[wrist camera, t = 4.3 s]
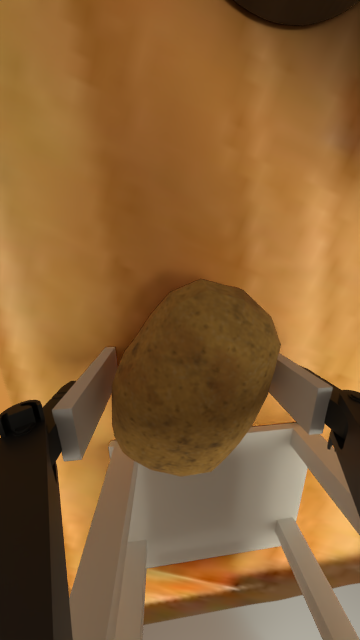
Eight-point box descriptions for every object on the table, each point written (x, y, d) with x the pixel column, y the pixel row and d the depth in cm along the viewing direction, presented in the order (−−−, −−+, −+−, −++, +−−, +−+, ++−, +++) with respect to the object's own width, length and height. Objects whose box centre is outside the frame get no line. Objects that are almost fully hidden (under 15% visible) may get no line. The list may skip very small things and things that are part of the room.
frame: (110, 440, 15) (-269, 1593, 2) (311, 420, 17) (859, 945, 4) (128, 563, 20) (50, 1183, 6) (287, 537, 21) (498, 976, 8)
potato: (105, 399, 14) (55, 503, 8) (165, 259, 12) (168, 236, 6) (199, 429, 16) (224, 534, 10) (267, 310, 14) (363, 339, 7)
